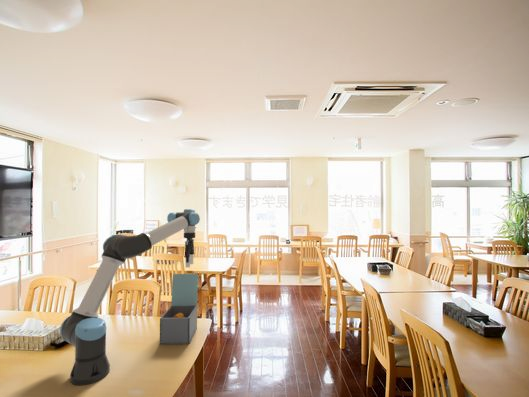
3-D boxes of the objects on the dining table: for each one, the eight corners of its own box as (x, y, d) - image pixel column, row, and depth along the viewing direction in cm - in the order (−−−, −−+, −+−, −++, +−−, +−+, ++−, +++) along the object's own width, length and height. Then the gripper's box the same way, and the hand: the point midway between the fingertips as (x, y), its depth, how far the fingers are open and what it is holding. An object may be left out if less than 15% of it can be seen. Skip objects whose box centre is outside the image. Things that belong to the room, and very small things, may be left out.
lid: (198, 273, 178) (198, 273, 179) (172, 274, 178) (173, 273, 178) (196, 305, 174) (197, 305, 175) (171, 305, 174) (171, 305, 175)
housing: (189, 343, 154) (189, 318, 154) (159, 344, 153) (159, 318, 154) (196, 328, 174) (197, 305, 174) (170, 328, 173) (171, 305, 174)
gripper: (191, 233, 178) (191, 269, 178) (198, 230, 200) (198, 262, 199) (179, 233, 178) (179, 269, 178) (187, 230, 200) (187, 262, 199)
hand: (189, 265), depth 189 cm, fingers open, 9 cm apart
